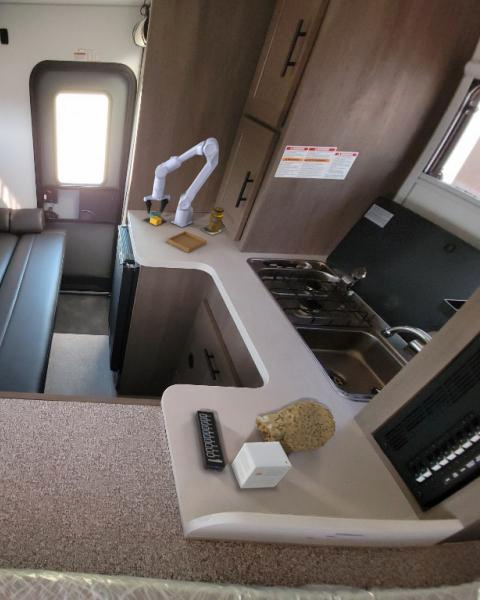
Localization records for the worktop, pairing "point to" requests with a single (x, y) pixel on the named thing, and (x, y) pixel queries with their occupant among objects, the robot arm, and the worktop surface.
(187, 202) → the robot arm
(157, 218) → the block
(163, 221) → the mat
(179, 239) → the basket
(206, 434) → the tool bit set
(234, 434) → the worktop surface
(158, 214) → the packet teal
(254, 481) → the small box
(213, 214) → the condiment
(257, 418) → the sponge
